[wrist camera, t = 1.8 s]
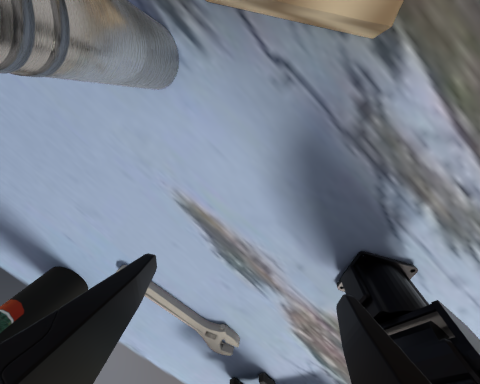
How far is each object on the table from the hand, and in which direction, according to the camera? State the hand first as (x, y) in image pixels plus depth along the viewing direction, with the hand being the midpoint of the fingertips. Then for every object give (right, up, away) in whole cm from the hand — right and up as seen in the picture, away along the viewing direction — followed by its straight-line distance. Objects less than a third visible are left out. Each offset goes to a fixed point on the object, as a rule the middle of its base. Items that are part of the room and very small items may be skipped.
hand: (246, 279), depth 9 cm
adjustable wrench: (-9, -16, +24) cm, 30 cm away
